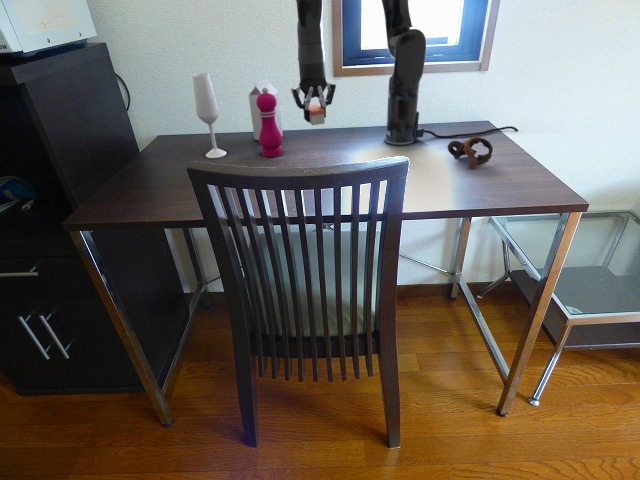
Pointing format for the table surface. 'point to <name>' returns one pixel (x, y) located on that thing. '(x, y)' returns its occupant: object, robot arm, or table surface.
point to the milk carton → (255, 110)
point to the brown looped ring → (470, 150)
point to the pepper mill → (269, 125)
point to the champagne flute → (207, 108)
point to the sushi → (316, 115)
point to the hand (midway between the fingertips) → (315, 120)
